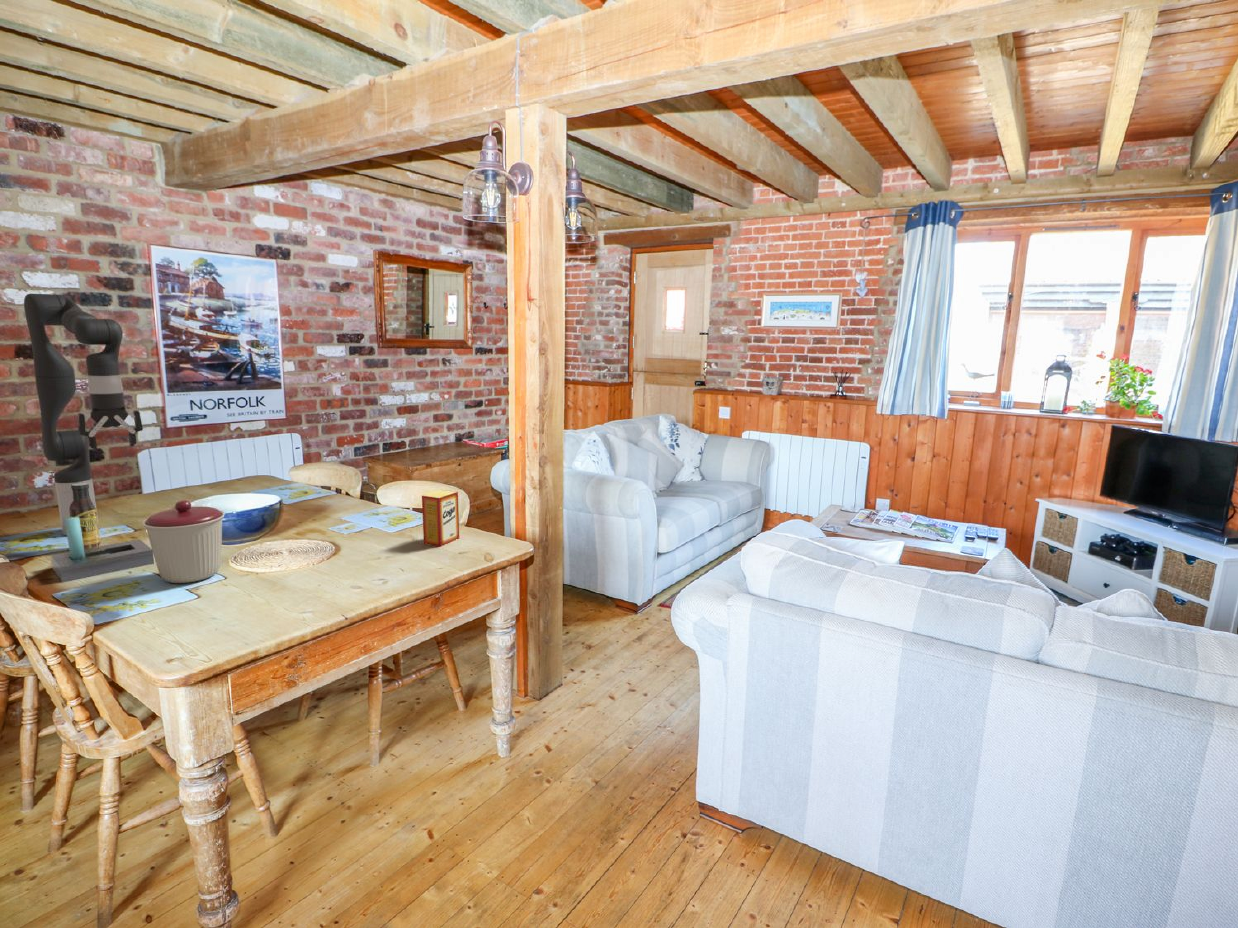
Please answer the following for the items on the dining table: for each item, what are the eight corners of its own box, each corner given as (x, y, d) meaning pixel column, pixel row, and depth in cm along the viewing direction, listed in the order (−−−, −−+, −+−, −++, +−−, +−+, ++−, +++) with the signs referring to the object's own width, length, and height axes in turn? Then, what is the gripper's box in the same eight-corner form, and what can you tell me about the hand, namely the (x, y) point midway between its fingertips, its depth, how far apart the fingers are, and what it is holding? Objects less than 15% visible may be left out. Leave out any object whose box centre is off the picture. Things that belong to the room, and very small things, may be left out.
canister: (173, 594, 161) (163, 513, 157) (136, 580, 170) (125, 503, 166) (244, 572, 177) (237, 498, 172) (207, 560, 185) (199, 489, 181)
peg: (67, 571, 176) (59, 518, 173) (89, 566, 179) (81, 515, 176) (70, 575, 173) (62, 522, 170) (92, 570, 176) (84, 518, 173)
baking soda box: (443, 535, 212) (441, 488, 209) (459, 538, 210) (457, 490, 206) (423, 543, 204) (421, 494, 200) (440, 546, 201) (438, 497, 198)
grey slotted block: (53, 568, 177) (50, 555, 176) (141, 551, 192) (139, 539, 191) (62, 582, 168) (60, 567, 167) (154, 563, 182) (152, 549, 182)
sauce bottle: (85, 552, 190) (75, 487, 186) (68, 550, 191) (58, 485, 188) (106, 545, 196) (97, 482, 193) (90, 544, 198) (80, 481, 194)
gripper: (134, 389, 189) (140, 443, 192) (71, 391, 178) (79, 448, 182) (140, 391, 184) (147, 447, 187) (75, 393, 173) (84, 452, 177)
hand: (113, 447), depth 184 cm, fingers open, 8 cm apart
